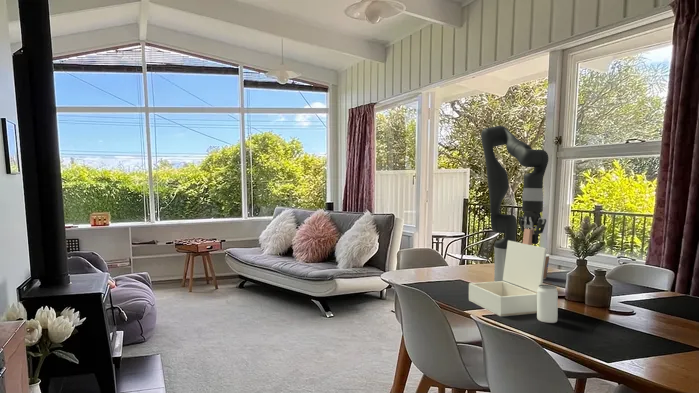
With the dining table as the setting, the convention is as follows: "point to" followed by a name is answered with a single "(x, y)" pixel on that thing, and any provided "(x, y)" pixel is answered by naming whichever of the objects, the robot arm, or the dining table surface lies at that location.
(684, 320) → the dining table surface
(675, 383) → the dining table surface
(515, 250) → the mailer lid
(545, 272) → the coffee cup
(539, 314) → the can
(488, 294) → the box
